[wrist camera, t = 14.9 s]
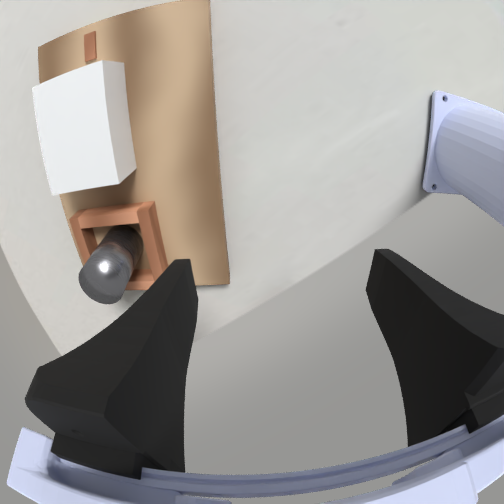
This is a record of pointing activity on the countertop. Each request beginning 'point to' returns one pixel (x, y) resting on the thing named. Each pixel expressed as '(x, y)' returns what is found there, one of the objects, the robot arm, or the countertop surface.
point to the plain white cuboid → (85, 127)
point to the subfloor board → (155, 140)
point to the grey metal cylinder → (111, 264)
